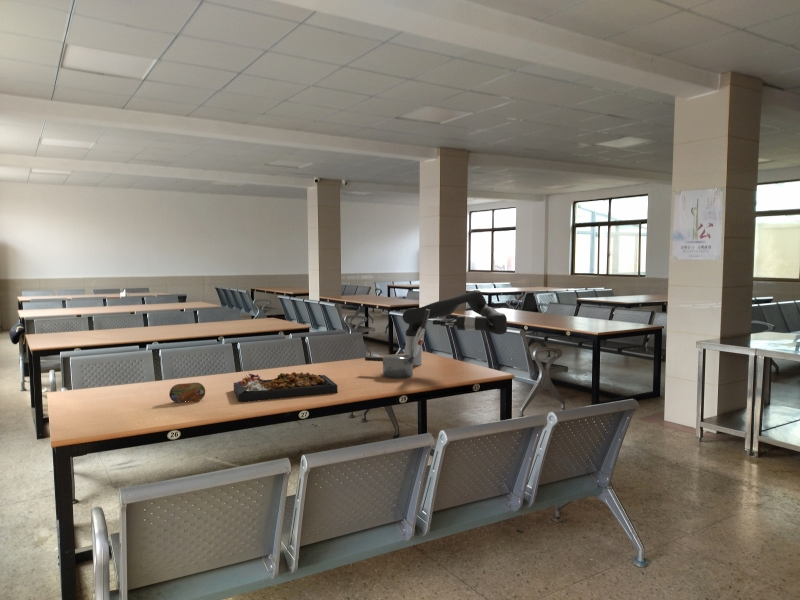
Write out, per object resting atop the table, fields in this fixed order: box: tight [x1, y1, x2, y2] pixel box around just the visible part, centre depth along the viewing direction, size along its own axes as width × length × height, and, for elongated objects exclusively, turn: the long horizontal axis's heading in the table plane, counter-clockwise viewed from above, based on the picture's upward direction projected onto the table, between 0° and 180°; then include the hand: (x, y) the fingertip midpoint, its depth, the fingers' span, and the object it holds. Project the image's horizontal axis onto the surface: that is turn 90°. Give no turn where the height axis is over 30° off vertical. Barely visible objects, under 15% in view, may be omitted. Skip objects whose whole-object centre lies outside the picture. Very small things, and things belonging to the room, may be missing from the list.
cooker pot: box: [364, 353, 415, 380], centre depth 310 cm, size 27×16×10 cm, turn 73°
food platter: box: [233, 369, 339, 403], centre depth 274 cm, size 45×25×10 cm, turn 111°
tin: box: [169, 382, 206, 403], centre depth 257 cm, size 15×3×8 cm, turn 106°
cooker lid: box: [411, 309, 430, 359], centre depth 303 cm, size 27×17×3 cm
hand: (433, 322), depth 294 cm, fingers closed
